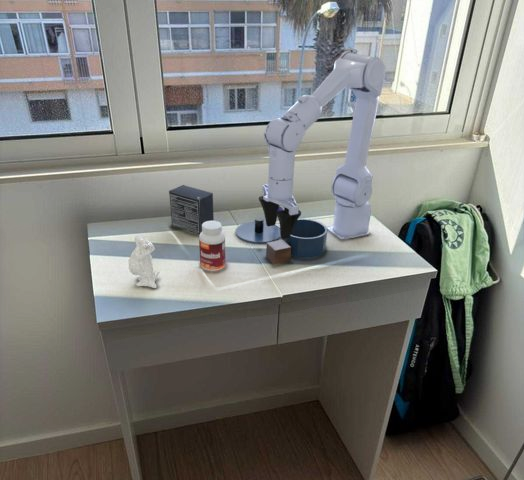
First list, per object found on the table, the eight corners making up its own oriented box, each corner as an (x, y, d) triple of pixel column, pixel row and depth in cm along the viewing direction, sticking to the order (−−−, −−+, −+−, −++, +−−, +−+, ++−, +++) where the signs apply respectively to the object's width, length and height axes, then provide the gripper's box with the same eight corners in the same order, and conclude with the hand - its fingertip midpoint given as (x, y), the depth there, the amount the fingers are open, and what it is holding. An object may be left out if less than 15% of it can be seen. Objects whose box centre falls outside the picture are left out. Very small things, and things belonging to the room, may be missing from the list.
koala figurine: (165, 288, 118) (160, 241, 111) (136, 294, 116) (129, 246, 109) (156, 271, 124) (151, 225, 117) (128, 276, 122) (121, 229, 115)
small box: (215, 228, 144) (214, 192, 137) (201, 237, 139) (199, 200, 133) (185, 219, 148) (183, 183, 141) (170, 227, 144) (167, 190, 137)
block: (281, 255, 133) (282, 239, 130) (289, 263, 130) (291, 247, 127) (266, 258, 131) (266, 242, 128) (274, 266, 128) (274, 250, 125)
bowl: (310, 236, 142) (312, 215, 138) (333, 254, 134) (336, 233, 130) (273, 243, 138) (274, 223, 134) (294, 263, 130) (296, 242, 126)
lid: (269, 222, 148) (269, 206, 145) (290, 240, 139) (291, 224, 136) (228, 229, 143) (228, 213, 141) (247, 249, 135) (248, 232, 132)
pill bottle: (197, 271, 125) (195, 229, 118) (203, 259, 130) (201, 218, 123) (223, 273, 125) (222, 231, 118) (227, 261, 129) (227, 220, 123)
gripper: (251, 168, 121) (250, 222, 129) (280, 189, 111) (277, 247, 119) (278, 164, 123) (275, 217, 132) (308, 185, 113) (303, 241, 122)
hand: (278, 231), depth 126 cm, fingers open, 7 cm apart
